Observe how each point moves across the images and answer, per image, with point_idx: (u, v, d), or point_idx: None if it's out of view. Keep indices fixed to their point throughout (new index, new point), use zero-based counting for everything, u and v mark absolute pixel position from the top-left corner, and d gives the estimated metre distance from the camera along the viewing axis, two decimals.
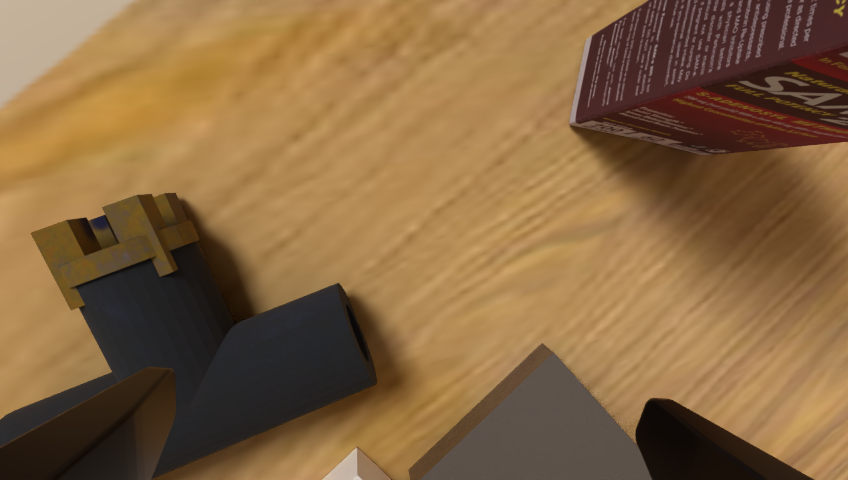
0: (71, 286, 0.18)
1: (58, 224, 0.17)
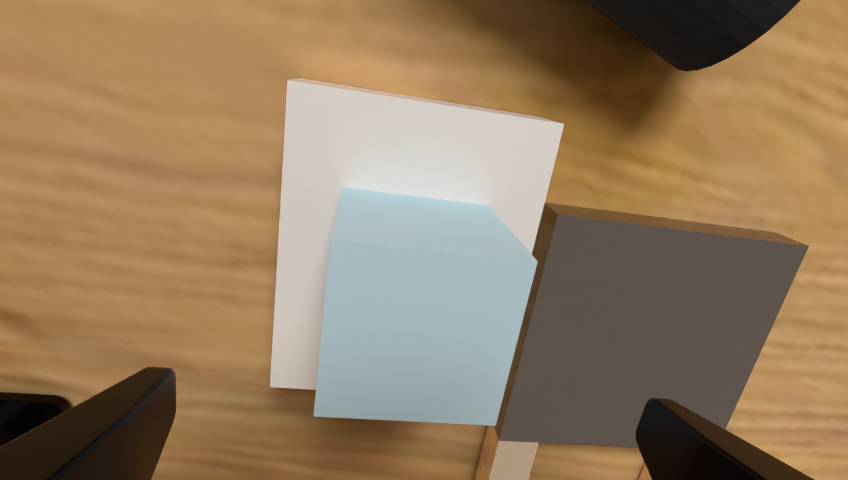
0: None
1: None
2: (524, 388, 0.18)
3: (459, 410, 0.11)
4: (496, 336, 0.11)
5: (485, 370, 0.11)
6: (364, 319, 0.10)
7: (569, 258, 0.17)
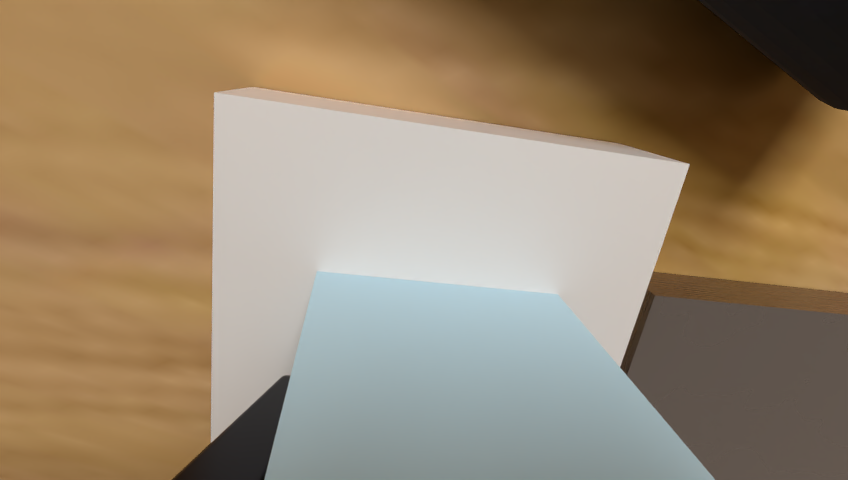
0: None
1: None
2: None
3: None
4: None
5: None
6: None
7: (666, 357, 0.11)
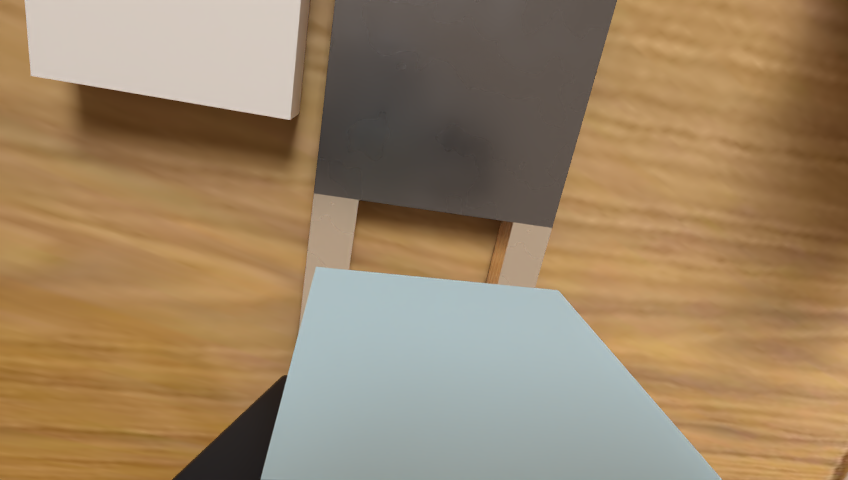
0: None
1: None
2: (334, 127, 0.17)
3: None
4: None
5: None
6: None
7: None
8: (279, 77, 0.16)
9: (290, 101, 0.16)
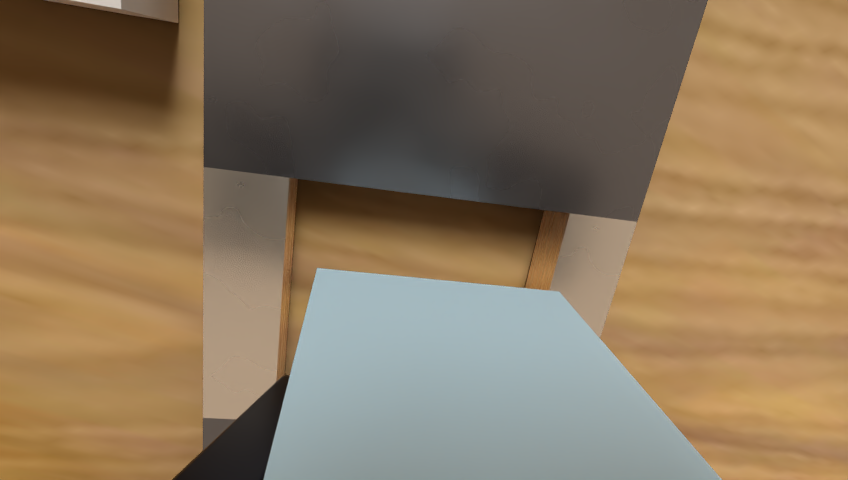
0: None
1: None
2: (230, 37, 0.09)
3: None
4: None
5: None
6: None
7: None
8: None
9: None
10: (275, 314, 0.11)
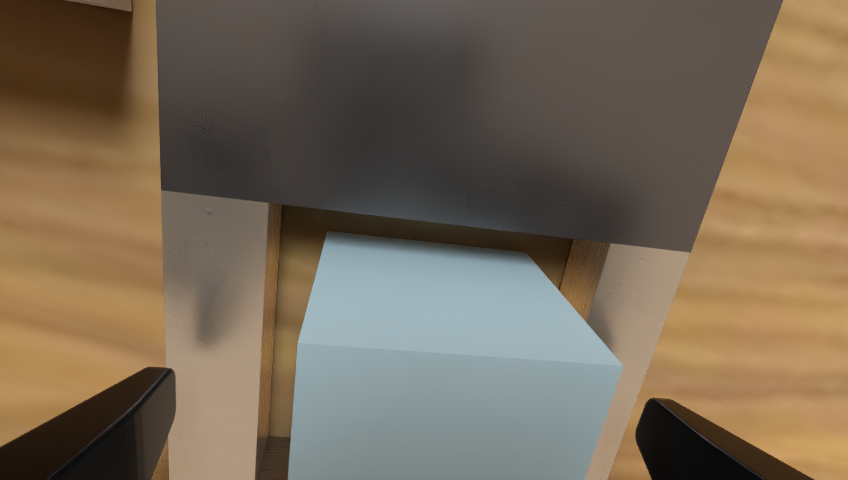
0: None
1: None
2: (190, 27, 0.07)
3: None
4: (555, 471, 0.07)
5: None
6: (354, 456, 0.07)
7: None
8: None
9: None
10: (254, 365, 0.09)
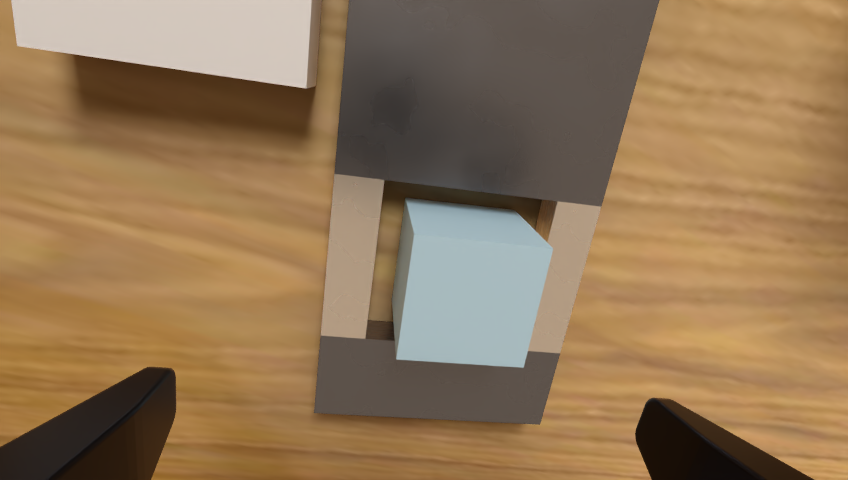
0: None
1: None
2: (355, 98, 0.15)
3: (498, 355, 0.16)
4: (524, 301, 0.15)
5: (516, 326, 0.16)
6: (433, 289, 0.15)
7: None
8: (293, 39, 0.14)
9: (306, 66, 0.14)
10: (370, 266, 0.18)
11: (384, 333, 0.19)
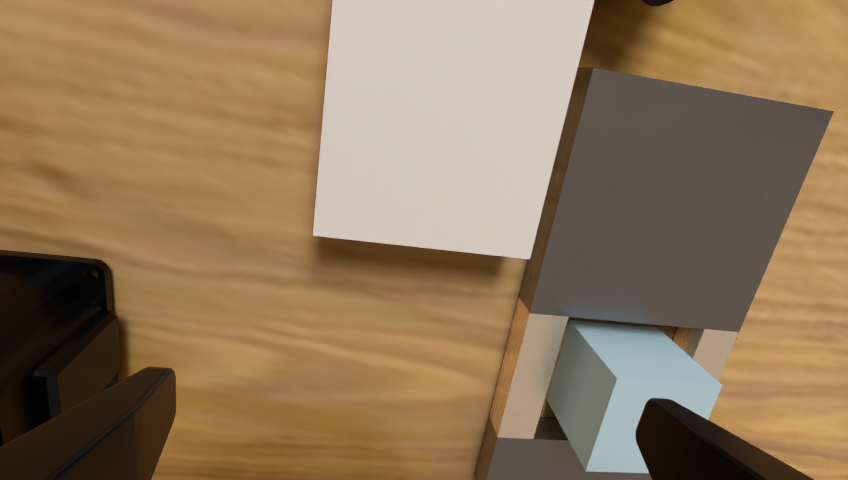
0: None
1: None
2: (556, 256, 0.19)
3: None
4: None
5: None
6: (624, 418, 0.18)
7: (603, 116, 0.17)
8: (526, 224, 0.17)
9: (532, 243, 0.17)
10: (547, 382, 0.21)
11: (544, 431, 0.22)
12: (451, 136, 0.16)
